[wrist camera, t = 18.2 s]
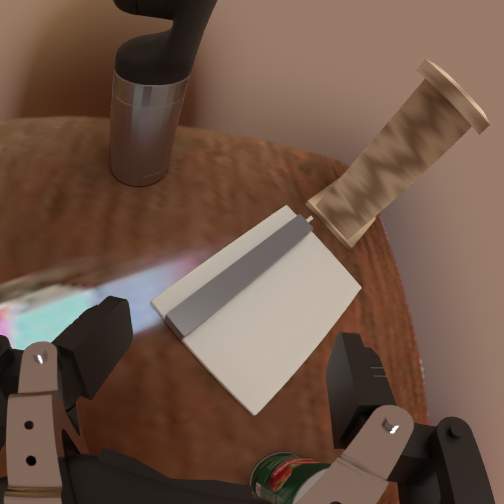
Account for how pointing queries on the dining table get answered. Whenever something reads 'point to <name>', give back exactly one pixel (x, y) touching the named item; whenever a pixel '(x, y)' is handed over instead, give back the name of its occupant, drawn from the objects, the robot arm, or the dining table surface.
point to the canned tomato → (285, 477)
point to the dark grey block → (235, 278)
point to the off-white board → (265, 313)
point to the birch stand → (398, 154)
